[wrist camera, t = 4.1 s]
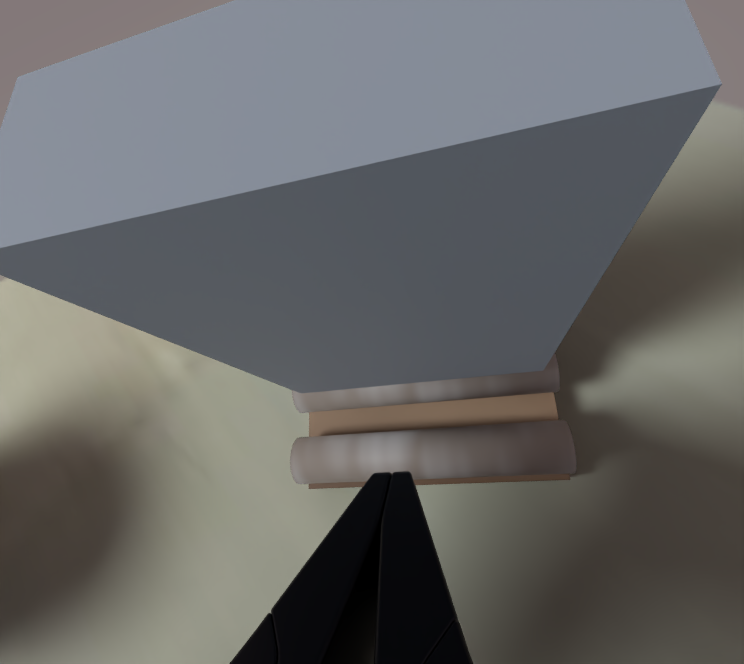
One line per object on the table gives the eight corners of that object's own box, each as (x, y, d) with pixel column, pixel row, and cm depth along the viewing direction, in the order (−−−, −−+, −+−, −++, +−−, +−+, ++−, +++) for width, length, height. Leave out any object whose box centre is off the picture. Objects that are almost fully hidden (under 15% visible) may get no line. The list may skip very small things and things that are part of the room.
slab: (543, 370, 12) (721, 83, 3) (300, 393, 14) (-44, 258, 5) (526, 281, 13) (623, -138, 4) (302, 314, 15) (17, 76, 6)
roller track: (564, 478, 14) (605, 485, 9) (318, 487, 16) (251, 496, 11) (513, 208, 17) (524, 115, 13) (319, 244, 19) (268, 175, 15)
